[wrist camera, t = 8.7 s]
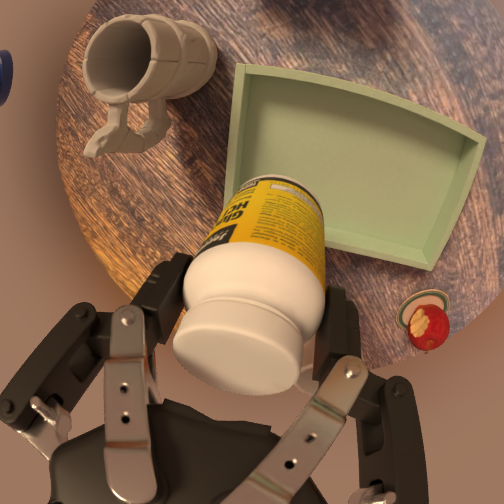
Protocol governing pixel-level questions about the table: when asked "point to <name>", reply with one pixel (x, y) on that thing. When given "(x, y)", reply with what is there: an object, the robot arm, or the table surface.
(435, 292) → the apple
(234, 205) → the pill bottle
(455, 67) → the table surface
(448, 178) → the tray
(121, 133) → the mug
